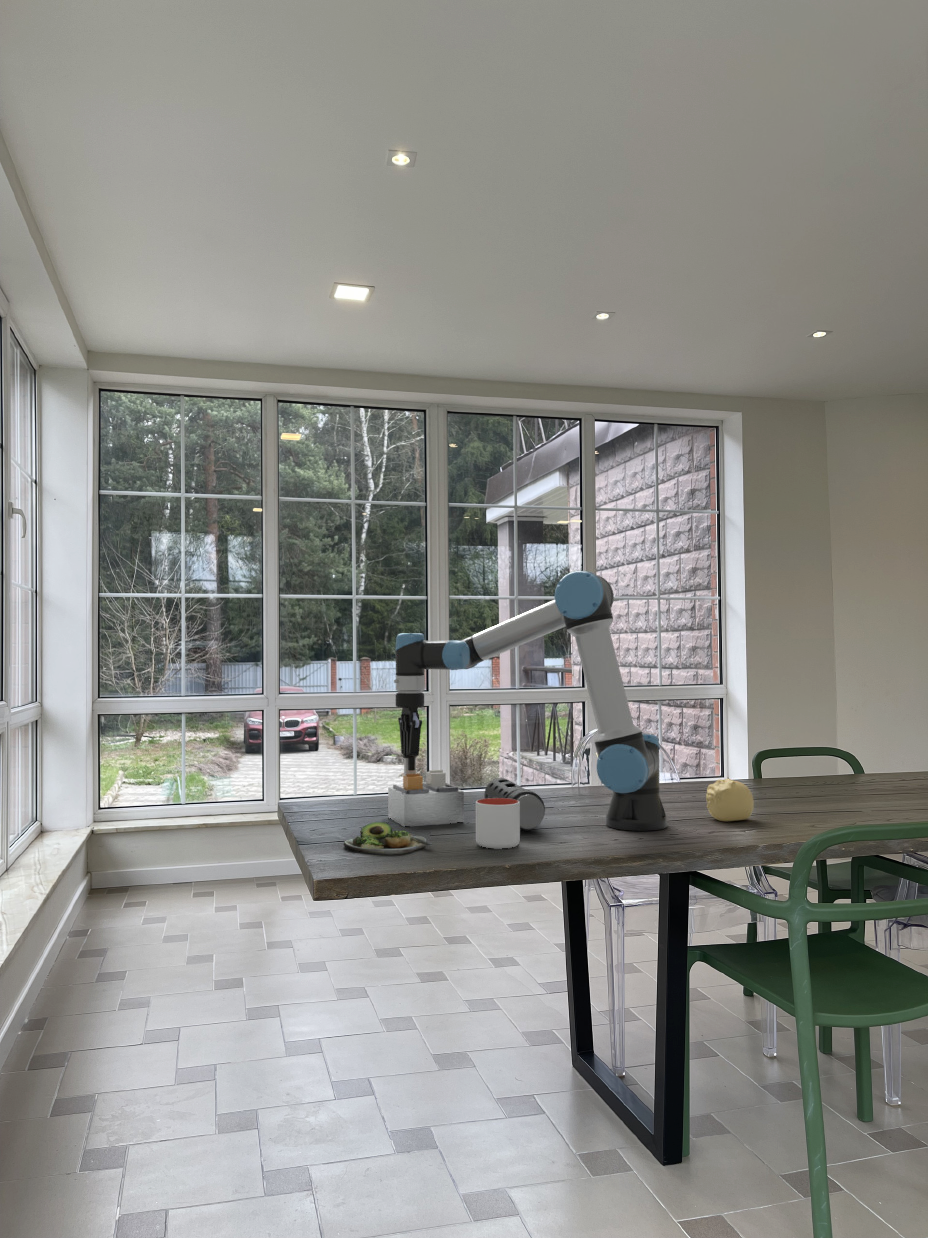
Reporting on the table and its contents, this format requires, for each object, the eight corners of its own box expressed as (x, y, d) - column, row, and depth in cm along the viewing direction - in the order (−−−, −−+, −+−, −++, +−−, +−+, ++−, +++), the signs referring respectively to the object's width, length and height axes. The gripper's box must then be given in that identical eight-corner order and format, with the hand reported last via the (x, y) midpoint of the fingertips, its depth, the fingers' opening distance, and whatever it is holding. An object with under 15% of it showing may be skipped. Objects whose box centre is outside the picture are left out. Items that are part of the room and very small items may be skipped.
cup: (476, 841, 215) (476, 797, 215) (519, 841, 214) (519, 798, 215) (475, 850, 205) (475, 805, 205) (520, 850, 204) (520, 805, 205)
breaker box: (463, 822, 238) (463, 787, 238) (404, 827, 232) (404, 790, 232) (444, 813, 251) (444, 780, 251) (388, 817, 245) (388, 783, 245)
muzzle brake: (517, 814, 250) (517, 776, 250) (548, 835, 222) (547, 791, 223) (483, 816, 248) (483, 777, 248) (509, 836, 220) (509, 793, 221)
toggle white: (445, 786, 245) (445, 770, 245) (431, 787, 243) (431, 771, 243) (440, 784, 248) (440, 769, 248) (426, 785, 247) (426, 769, 247)
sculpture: (701, 816, 247) (701, 775, 247) (746, 816, 247) (746, 775, 247) (711, 824, 236) (711, 781, 236) (759, 824, 235) (758, 781, 235)
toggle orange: (422, 790, 237) (422, 774, 237) (407, 791, 236) (407, 775, 236) (417, 788, 241) (417, 772, 241) (403, 789, 239) (403, 773, 240)
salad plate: (449, 845, 212) (449, 825, 212) (407, 861, 196) (407, 839, 196) (378, 837, 221) (378, 817, 221) (333, 851, 205) (333, 830, 205)
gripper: (389, 691, 246) (389, 780, 246) (403, 693, 234) (403, 786, 234) (415, 690, 249) (415, 778, 248) (431, 692, 237) (431, 785, 236)
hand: (409, 782), depth 241 cm, fingers closed
